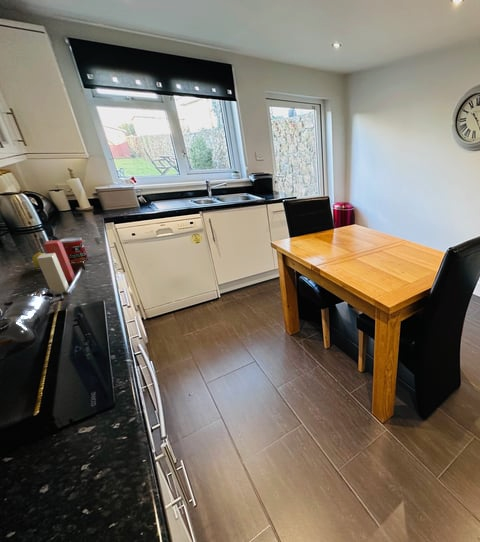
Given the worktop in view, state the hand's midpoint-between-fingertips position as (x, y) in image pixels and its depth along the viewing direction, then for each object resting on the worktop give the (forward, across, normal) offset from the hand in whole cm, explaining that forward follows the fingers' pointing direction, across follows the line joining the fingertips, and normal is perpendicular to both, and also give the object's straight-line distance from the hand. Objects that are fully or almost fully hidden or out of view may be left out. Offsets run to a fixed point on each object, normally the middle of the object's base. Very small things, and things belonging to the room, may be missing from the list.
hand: (43, 290), depth 93 cm
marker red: (+27, 0, +6) cm, 27 cm away
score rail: (+25, 0, +7) cm, 26 cm away
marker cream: (+15, 0, +6) cm, 16 cm away
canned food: (+57, +1, +8) cm, 57 cm away
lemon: (+50, +11, +8) cm, 51 cm away
